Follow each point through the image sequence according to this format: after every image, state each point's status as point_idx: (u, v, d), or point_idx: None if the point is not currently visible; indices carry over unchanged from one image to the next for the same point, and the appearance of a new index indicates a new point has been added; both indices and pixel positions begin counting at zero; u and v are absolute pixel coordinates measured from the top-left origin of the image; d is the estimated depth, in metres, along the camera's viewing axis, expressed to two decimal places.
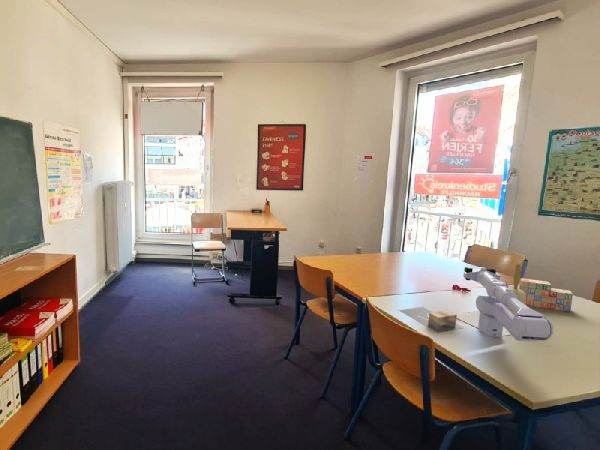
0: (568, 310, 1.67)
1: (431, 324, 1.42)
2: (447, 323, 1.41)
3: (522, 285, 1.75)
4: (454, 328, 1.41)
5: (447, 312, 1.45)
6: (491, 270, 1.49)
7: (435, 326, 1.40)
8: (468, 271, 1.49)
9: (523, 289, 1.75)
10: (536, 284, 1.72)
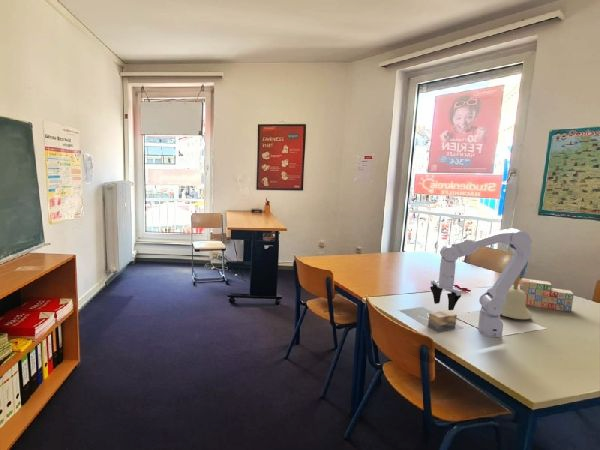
0: (569, 310, 1.67)
1: (431, 324, 1.42)
2: (447, 323, 1.41)
3: (523, 285, 1.75)
4: (454, 328, 1.41)
5: (447, 312, 1.45)
6: (433, 287, 1.45)
7: (435, 326, 1.40)
8: (453, 294, 1.36)
9: (524, 289, 1.75)
10: (537, 284, 1.72)
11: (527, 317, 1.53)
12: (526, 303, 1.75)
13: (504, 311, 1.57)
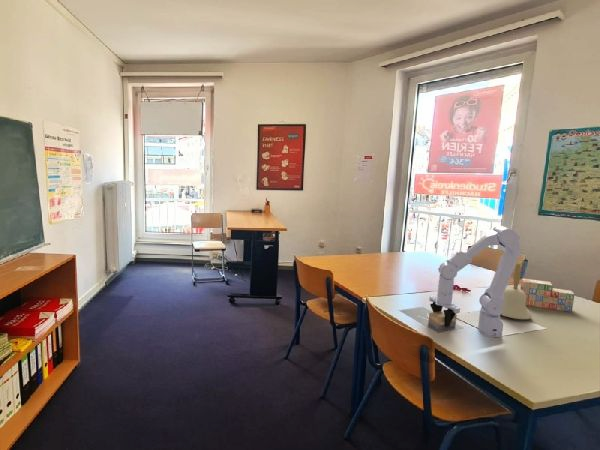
0: (570, 310, 1.67)
1: (431, 324, 1.42)
2: None
3: (524, 285, 1.75)
4: (454, 328, 1.41)
5: None
6: (433, 305, 1.45)
7: (435, 326, 1.40)
8: (449, 311, 1.38)
9: (525, 289, 1.75)
10: (538, 284, 1.72)
11: (527, 317, 1.53)
12: (527, 303, 1.75)
13: (504, 311, 1.57)
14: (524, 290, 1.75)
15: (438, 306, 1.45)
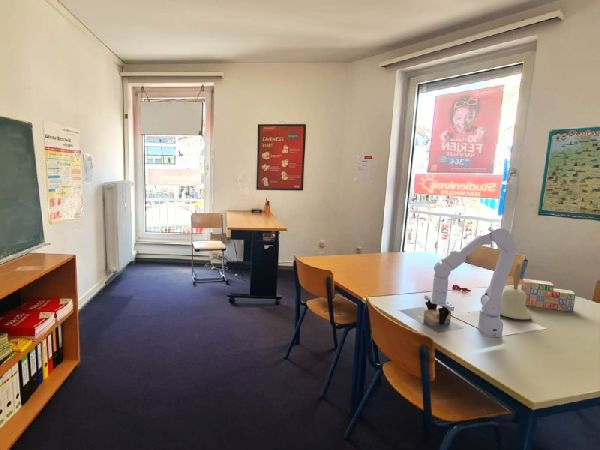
0: (571, 310, 1.67)
1: (426, 321, 1.45)
2: None
3: (525, 286, 1.74)
4: (454, 328, 1.41)
5: None
6: (428, 303, 1.47)
7: (430, 323, 1.43)
8: (443, 309, 1.41)
9: (526, 290, 1.74)
10: (539, 284, 1.72)
11: (527, 317, 1.53)
12: (528, 304, 1.75)
13: (504, 311, 1.57)
14: (525, 290, 1.75)
15: (433, 304, 1.48)
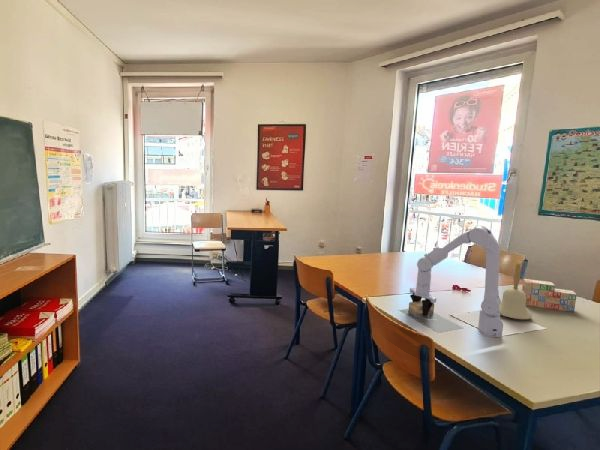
0: (572, 310, 1.67)
1: (411, 313, 1.54)
2: None
3: (526, 286, 1.74)
4: (454, 328, 1.41)
5: None
6: (413, 296, 1.56)
7: (414, 314, 1.52)
8: (426, 301, 1.50)
9: (527, 290, 1.74)
10: (540, 285, 1.71)
11: (527, 317, 1.53)
12: (529, 304, 1.74)
13: (504, 311, 1.57)
14: (526, 290, 1.74)
15: (417, 297, 1.57)
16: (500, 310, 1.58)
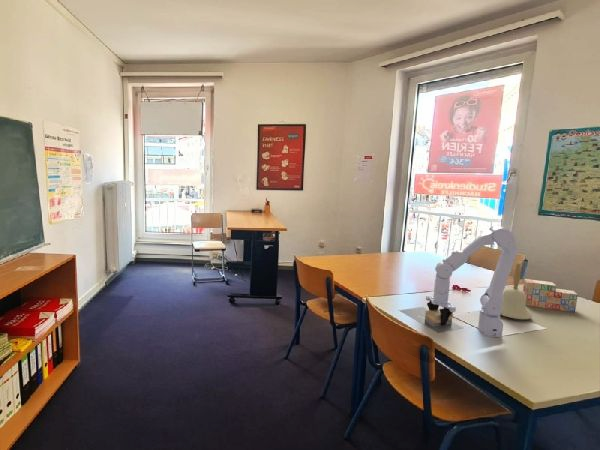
0: (573, 310, 1.67)
1: (427, 322, 1.44)
2: None
3: (527, 286, 1.74)
4: (454, 328, 1.41)
5: None
6: (430, 304, 1.47)
7: (431, 324, 1.42)
8: (445, 310, 1.40)
9: (528, 290, 1.74)
10: (541, 285, 1.71)
11: (527, 317, 1.53)
12: (530, 304, 1.74)
13: (504, 311, 1.57)
14: (527, 291, 1.74)
15: (434, 305, 1.47)
16: None
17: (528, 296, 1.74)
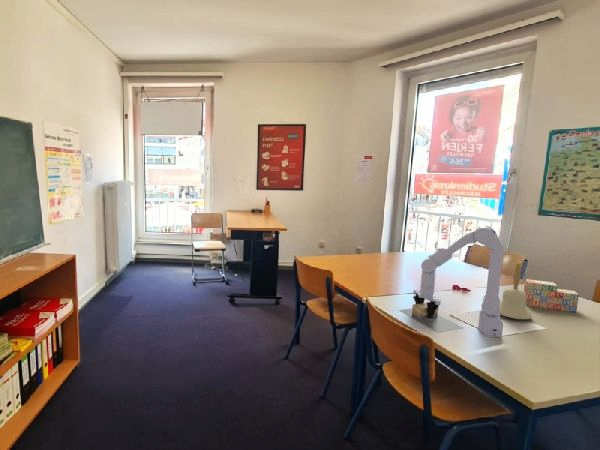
0: (574, 311, 1.67)
1: (414, 315, 1.52)
2: None
3: (528, 286, 1.74)
4: (454, 328, 1.41)
5: None
6: (416, 297, 1.54)
7: (418, 316, 1.50)
8: (431, 303, 1.47)
9: (529, 290, 1.74)
10: (542, 285, 1.71)
11: (527, 317, 1.53)
12: (531, 304, 1.74)
13: (504, 311, 1.57)
14: (528, 291, 1.74)
15: (420, 298, 1.55)
16: (500, 310, 1.58)
17: (529, 296, 1.74)
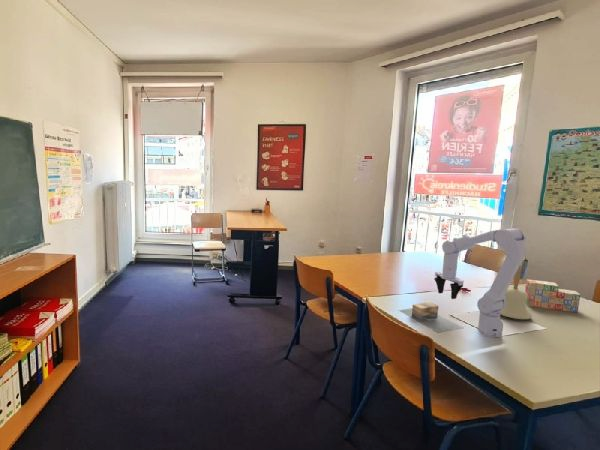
0: (575, 311, 1.67)
1: (414, 315, 1.52)
2: (429, 314, 1.51)
3: (530, 287, 1.73)
4: (454, 328, 1.41)
5: (430, 304, 1.54)
6: (437, 278, 1.58)
7: (418, 316, 1.50)
8: (455, 284, 1.50)
9: (531, 291, 1.73)
10: (544, 285, 1.71)
11: (527, 317, 1.53)
12: (533, 305, 1.74)
13: (504, 311, 1.57)
14: (530, 291, 1.73)
15: (441, 280, 1.58)
16: None
17: (531, 297, 1.74)
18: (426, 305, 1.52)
